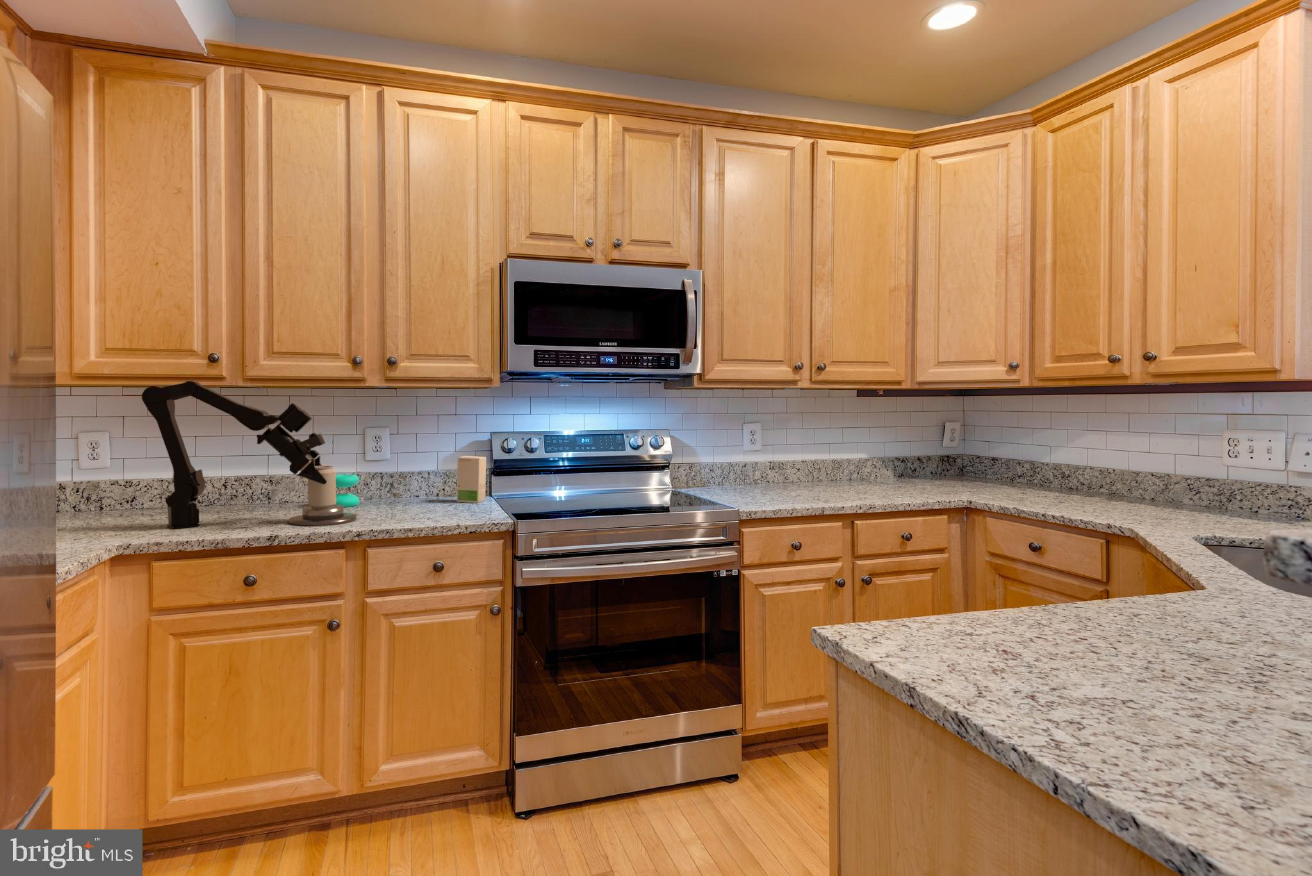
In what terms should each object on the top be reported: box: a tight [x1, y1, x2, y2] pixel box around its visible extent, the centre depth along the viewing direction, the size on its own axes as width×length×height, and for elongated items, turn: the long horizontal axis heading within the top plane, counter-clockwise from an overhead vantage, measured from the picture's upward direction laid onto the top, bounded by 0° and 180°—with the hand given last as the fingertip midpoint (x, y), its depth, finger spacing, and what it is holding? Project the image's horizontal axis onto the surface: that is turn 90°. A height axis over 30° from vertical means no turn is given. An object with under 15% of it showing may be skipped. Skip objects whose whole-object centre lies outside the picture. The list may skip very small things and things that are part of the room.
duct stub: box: [288, 504, 357, 527], centre depth 218 cm, size 18×18×4 cm
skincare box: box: [456, 455, 487, 504], centre depth 257 cm, size 8×7×16 cm
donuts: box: [336, 473, 360, 508], centre depth 246 cm, size 10×10×10 cm
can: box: [307, 465, 337, 509], centre depth 217 cm, size 8×8×12 cm
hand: (327, 481), depth 218 cm, fingers open, 9 cm apart
